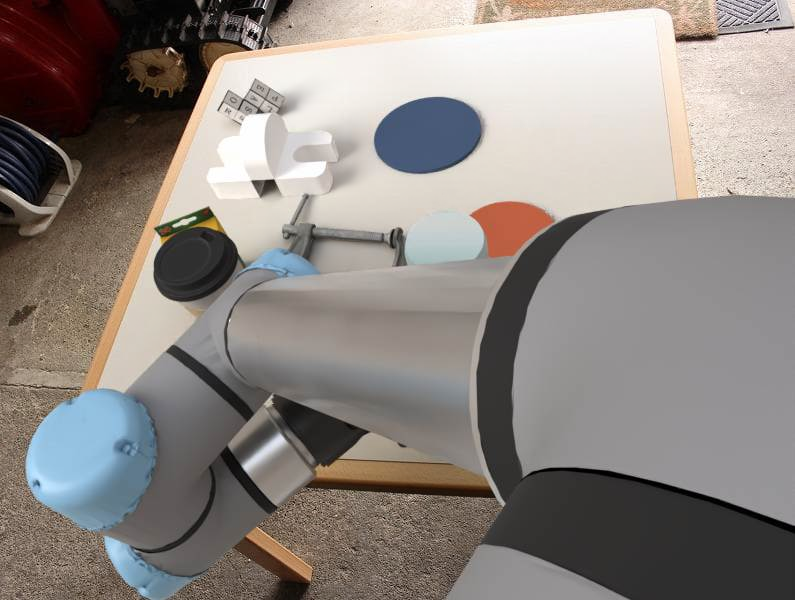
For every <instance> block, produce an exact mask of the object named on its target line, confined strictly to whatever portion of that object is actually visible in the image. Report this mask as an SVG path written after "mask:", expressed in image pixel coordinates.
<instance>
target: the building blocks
mask: <svg viewBox="0 0 795 600" xmlns="http://www.w3.org/2000/svg"><path fill="white" fill-rule="evenodd" d="M285 98H286V97H285V95H282V94H281V93H280V92H277V91H276V90H274V89H273V88H271V87H270V86H269V85H267V84H266V83H264V82H262V81H260V80H259V79H257V78H256V77H254V79H253V81H252V83H251V84H250V86H249V88H248V89H247V91H246V92H245V94H244V95H243V97H241V96H240V95H238V94H236V93H234V92H233V91H232V90H230V89H228V90H227V91H226V93H225V95H224V97H223V98H222V100H221V102H220V104H219V106H218V107H217V110H216V111H217V112H218V113H220V114H222V115H223V116H225V117H227V118H228V119H230V120H231V121H233V122H234V123H237V124H238V125H240V127H241V126H242V122H243V121H244V119H245V117H246V116H248V115H250V114H258V111H259V110H260V111H261V112H262V113H263V112H264V113H277V114H278V112H279V110H280V109H281V107H282V104H283V103H284V101H285Z"/></svg>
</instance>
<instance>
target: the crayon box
mask: <svg viewBox="0 0 795 600" xmlns="http://www.w3.org/2000/svg"><path fill="white" fill-rule="evenodd" d="M191 218H195V219H193V220H190V221H188V223H186V224H180V225H178V226H174V225H176V224H178V223H180V222H182V221H183V220H188V219H191ZM192 227H208V228H211V229H214V230H217V231H220V232H222V233H224V234H226V235H227V236H228V235H229V234H228V233H227V232H226V231H225V229H224V227H223V226H222V224H221V222H220V221H219V219H218V218H217V215H215V213H214V212H213V210H212V209H211V207H210V205H208V206H206V207H203V208H200V209H198V210H195V211H192V212H191V213H188V214H185V215H183V216H180V217H177V218H175V219H172V220H170V221H167V222H165V223H162V224H159V225H156V226H154V227H153V230H154V231H155V232H156V233H157V235H158V236H159V239H160V243H161V246H162V245H163V244H164V243H165V242H166V241H167V240H168V239H169V238H170V237H172V236H173V235H175V234H176V233H178V232H180V231H182V230H185V229H188V228H192ZM228 237H229V236H228ZM238 260H239V261H240V262H241V264H242V266H243V268H244V269H245V268H246V265H245V261H244V260H243V259H242V256H241V255H240V254H239V252H238Z"/></svg>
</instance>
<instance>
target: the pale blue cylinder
mask: <svg viewBox="0 0 795 600" xmlns="http://www.w3.org/2000/svg"><path fill="white" fill-rule="evenodd" d="M469 215H470V214H467V213H464V212H461V211H456V210H441V211H437V212H433V213H430V214H427V215H425V216H424V217H422V218H420V219H419V220H418V221H417V222H416V223H414V224H413V226H411V228H410V229H409V231H408V232H407V235H406V237H405V239H406V243H405V258H406V261H407V265H408V266H410V265H420V264H431V263H441V262H452V261H462V260H472V259H483V258H489V257H488V246H487V239H486V235H485V233H484V231H483V229H482V228H481V226H480V224H479V223H478V222H477V221H476V220H475V219H474V218H472V217H471V216H469Z"/></svg>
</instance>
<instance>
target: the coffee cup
mask: <svg viewBox="0 0 795 600" xmlns="http://www.w3.org/2000/svg"><path fill="white" fill-rule="evenodd" d="M226 234H227V233H226ZM226 234H224V233H222V232H220V231H217V230H214V229H211V228H208V227H192V228H188V229H185V230H182V231H180V232H178V233H176V234H175V235H173V236H172V237H170V238H169V239H168V240H167V241H166V242H165V243H164V244H163V245H162V244H161V246H160V247H159V248H158V250H157V251H156V254H155V256H154V259H153V273H152V275H153V281H154V284H155V286H156V288H157V290H158V292H159V293H160V294H161V296H163V297H164V298H165V299H168V300H169V301H173V302H176V303H177V302H178V303H179V304H180V306H182V307H183V308H184V309H185V310H186V311H188V313H190V314H191V315H192V316H193V317H194V318H195V319H196V320H197V319H198V318H199V317H200V316H201V315H202V314H203V313H204V312H205V311H206V310H207V309H208V308H209V307H210V306H211V305H212V304H213V303H214V302H215V300H216V299H217V298H218V297H219V296H220V295H221V294H222V293H223V292H224V291H225V290H226V289H227V288H228V287H229V286H230V285H231V284H232V283H233V281H234V278H235V277H236V276H237V275H238V274H239V273H240V272H241V271H243V270H244V268H243V266H242V264H241V262H240V261H239V260H238V253H239V250H238V247H237V245H236V243H235V242H234V240H233V239H232V238H230V237H229V236H227V235H228V234H227V235H226Z"/></svg>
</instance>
